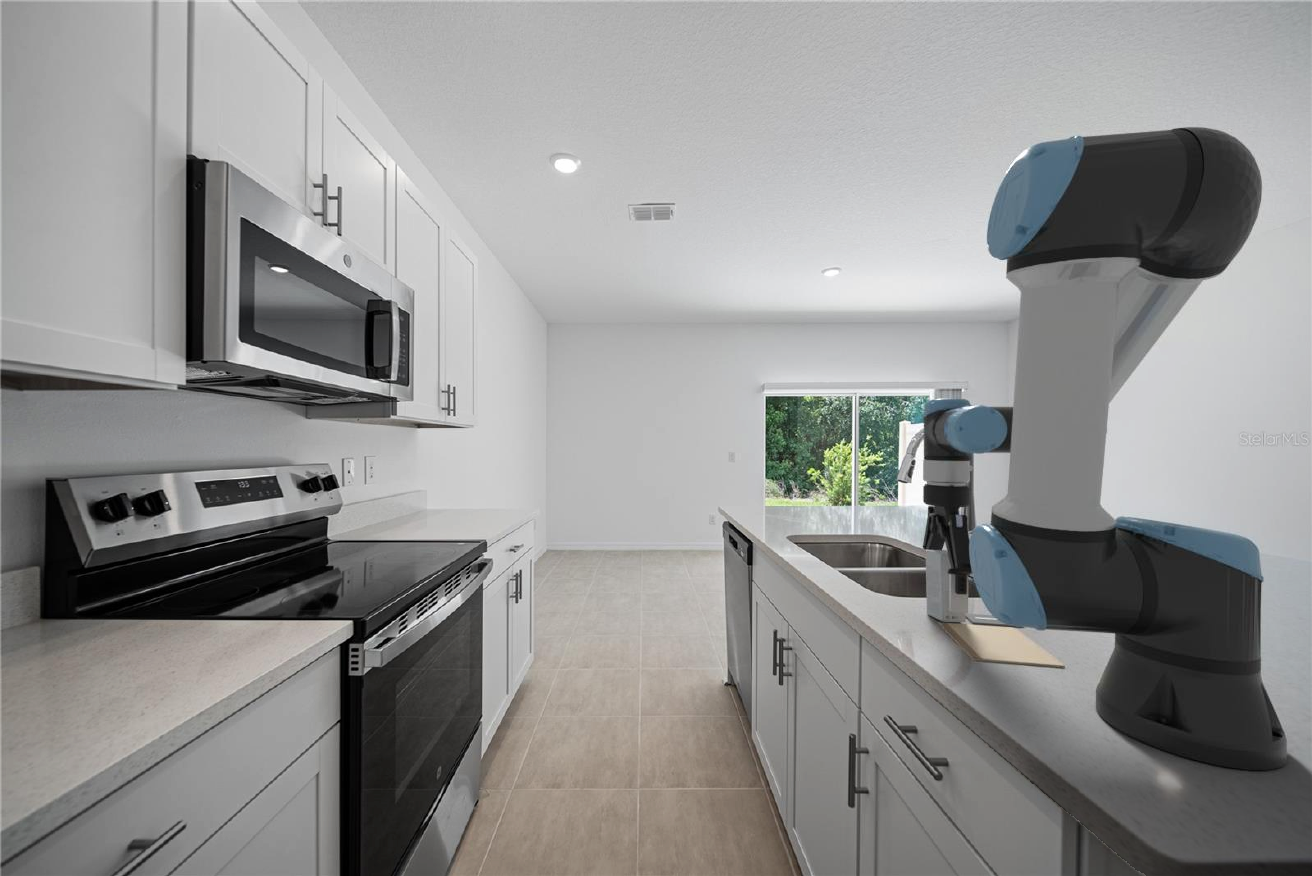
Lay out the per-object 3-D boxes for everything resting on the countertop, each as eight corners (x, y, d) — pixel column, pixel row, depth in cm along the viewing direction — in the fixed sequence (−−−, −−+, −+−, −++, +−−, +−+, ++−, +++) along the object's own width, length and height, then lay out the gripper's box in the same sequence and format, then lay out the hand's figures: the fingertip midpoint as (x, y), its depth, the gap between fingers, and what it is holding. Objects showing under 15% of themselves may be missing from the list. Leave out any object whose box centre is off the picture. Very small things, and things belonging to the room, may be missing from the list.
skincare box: (967, 623, 94) (964, 554, 95) (942, 622, 94) (940, 553, 95) (948, 614, 100) (946, 549, 101) (925, 613, 100) (924, 549, 101)
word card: (1023, 627, 93) (1023, 625, 93) (973, 623, 95) (973, 621, 95) (1010, 618, 98) (1010, 616, 98) (963, 614, 100) (962, 612, 100)
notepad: (1064, 667, 76) (1064, 665, 76) (972, 660, 79) (972, 657, 79) (1014, 629, 92) (1014, 627, 92) (938, 624, 94) (938, 621, 94)
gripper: (998, 490, 84) (997, 625, 84) (946, 479, 109) (945, 583, 109) (946, 489, 86) (945, 621, 86) (906, 478, 110) (906, 581, 110)
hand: (945, 600), depth 97 cm, fingers open, 13 cm apart
